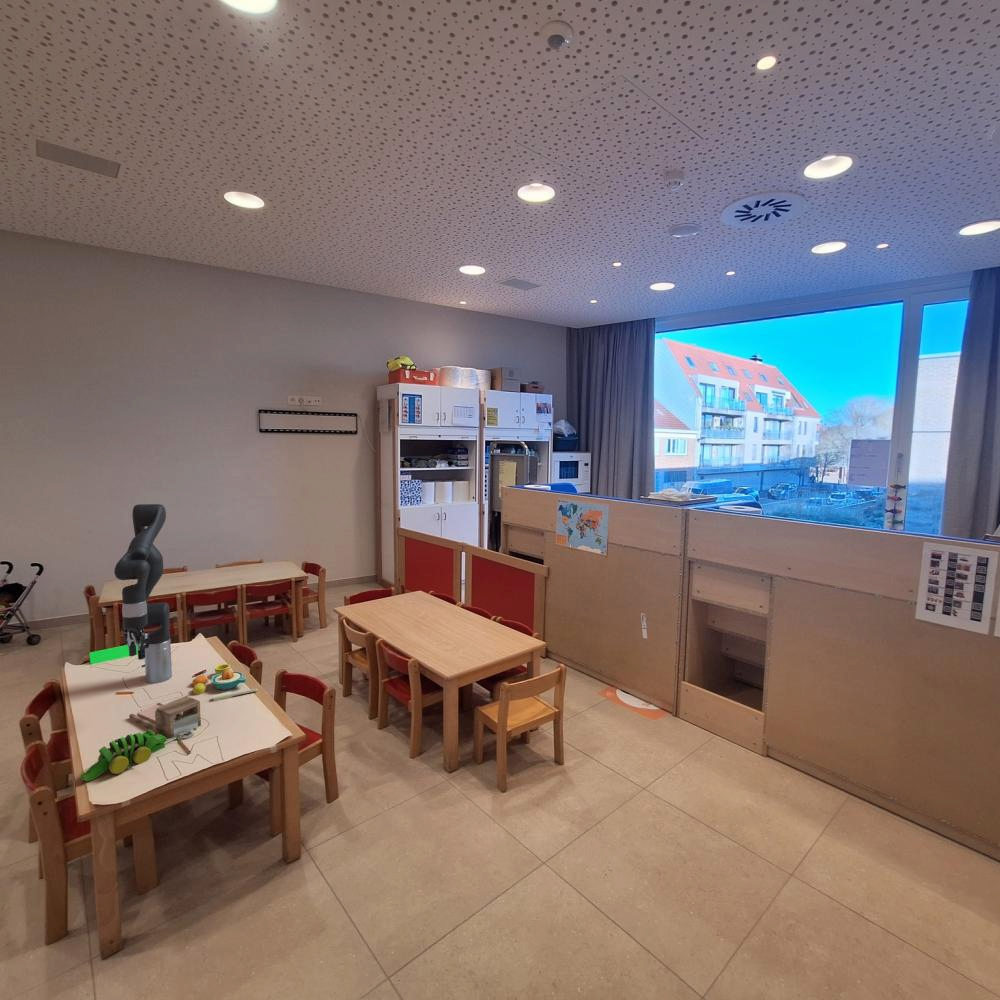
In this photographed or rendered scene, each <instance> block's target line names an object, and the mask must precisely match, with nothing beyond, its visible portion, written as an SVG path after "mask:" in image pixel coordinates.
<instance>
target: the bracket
mask: <svg viewBox="0 0 1000 1000" xmlns="http://www.w3.org/2000/svg"><path fill="white" fill-rule="evenodd" d="M136 652H137V654H136V655H135V656H138V649H137V645H136ZM88 654H89V662H90V664H91V665H95V664H100V663H101V664H102V663H105V662H109V661H114V660H119V659H124V658H129V657H130V656H129V647H128V646H127V644H124V645H121V646H116V647H110V648H105V649H101V650H96V651H91V652H89V653H88Z"/></svg>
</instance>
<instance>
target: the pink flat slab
mask: <svg viewBox="0 0 1000 1000" xmlns="http://www.w3.org/2000/svg"><path fill="white" fill-rule="evenodd" d="M158 707H161V706H159V705H156V704H155V705H153V706H150V707H148V708H145V709H143V710H140V711H139V712H137V714H136V716H139V717H141V718H143V719H145V720H147V721H149V722H152V723H154V724H156V721H155V711H156V710H157V709H156V708H158ZM175 720H178V718H177V717H176V715H174V716H173V721H175Z"/></svg>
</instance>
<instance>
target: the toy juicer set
mask: <svg viewBox="0 0 1000 1000" xmlns="http://www.w3.org/2000/svg"><path fill="white" fill-rule="evenodd" d="M230 668H231V665H230V664H228V663H223V664H218V665H216V666H215V667H214V672H215V674H214V675H212V676H211V683H212V684H213V686H214V687H215V688H216V689H217V690H221V691H222V690H223V691H226V689H227V690H231V689H234V688H235V687H237V686H238V685H239V684H241V683H242V684H245V682H247V677H244V674H243V672H242V671H234V670H231V669H230ZM206 672H207V671H206V670H204V671H203V673H202V674H200V675H197V676H196V677H195V678H194V679H193V680H192V686H193V688H192V692H193V694H194V695H195V696H198V695H202V694H204V693H205V692H206V690H207V688H206V684H207V683H209V678H208V677H207V676H206V675H205V674H207V673H206ZM233 687H234V688H233ZM254 692H258V688H253V689H247V690H243V691H238V692H234V693H233V692H230V691H228V692H222V693H218V694H212V702H215V701H216V702H217V701H221V700H227V699H230V698H233V697H236V696H239V695H244V694H249V693H254Z"/></svg>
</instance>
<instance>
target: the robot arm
mask: <svg viewBox="0 0 1000 1000" xmlns="http://www.w3.org/2000/svg"><path fill="white" fill-rule="evenodd" d="M166 512H167V511H166V507H165V506H164V505H163V504H160V503H158V504H157V503H151V504H150V503H148V504H147V503H145V504H136V505H134V506H133V509H132V523H133V524H132V525H133V531H134V537H133V538H132V540H131V541H130V543H129V546H128V548H127V551H126V552H125V554H124V555H123V556H122V557H121V558H120V559H119V560H118V561H117V562H116V564H115V567H114V570H113V571H114V576H115V578H116V579H117V580H121V581H129V580H130V581H131V580H137V582H136V583H134V584H131V585H130V584H129V585H126V586H124V587H123V588H122V590H121V595H122V596H121V597H122V607H121V612H122V627H123V628H122V634H123V641H124V645H127V646H128V647H129V657H134V656H135V657H136V656H137V660H139V661H140V660H144V668H145V669H144V670H145V671H144V672H145V673H144V674H145V681H146V683H149V684H159V683H164V682H166V681H168V680H171V678H172V677H173V669H172V665H173V664H172V652H171V651H172V650H171V649H172V647H171V633H170V632H171V630H170V613H171V612H170V609H171V608H170V605H169V603H168V602H166V601H165V602H154V603H148V602H149V601H148V600H149V597H150V596H151V593H152V591H153V590H154V588H155V587H156V585H157V584H158V582H159V581H160V579H161V577H162V576H163V574H164V558H163V555H162V553H161V552H160V550H159V549H158V547H156V546H155V544H154V542H155V540H156V538H157V537H158V535H159V533H160V531H161V530H162V528H163V527H164V524H165V522H166V519H167V518H166V517H167V513H166ZM153 626H159V627H158V628H156V629H155V630H152V631H149V632H145V627H153ZM136 645H137V649H138V655H136V654H137V652H136Z"/></svg>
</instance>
